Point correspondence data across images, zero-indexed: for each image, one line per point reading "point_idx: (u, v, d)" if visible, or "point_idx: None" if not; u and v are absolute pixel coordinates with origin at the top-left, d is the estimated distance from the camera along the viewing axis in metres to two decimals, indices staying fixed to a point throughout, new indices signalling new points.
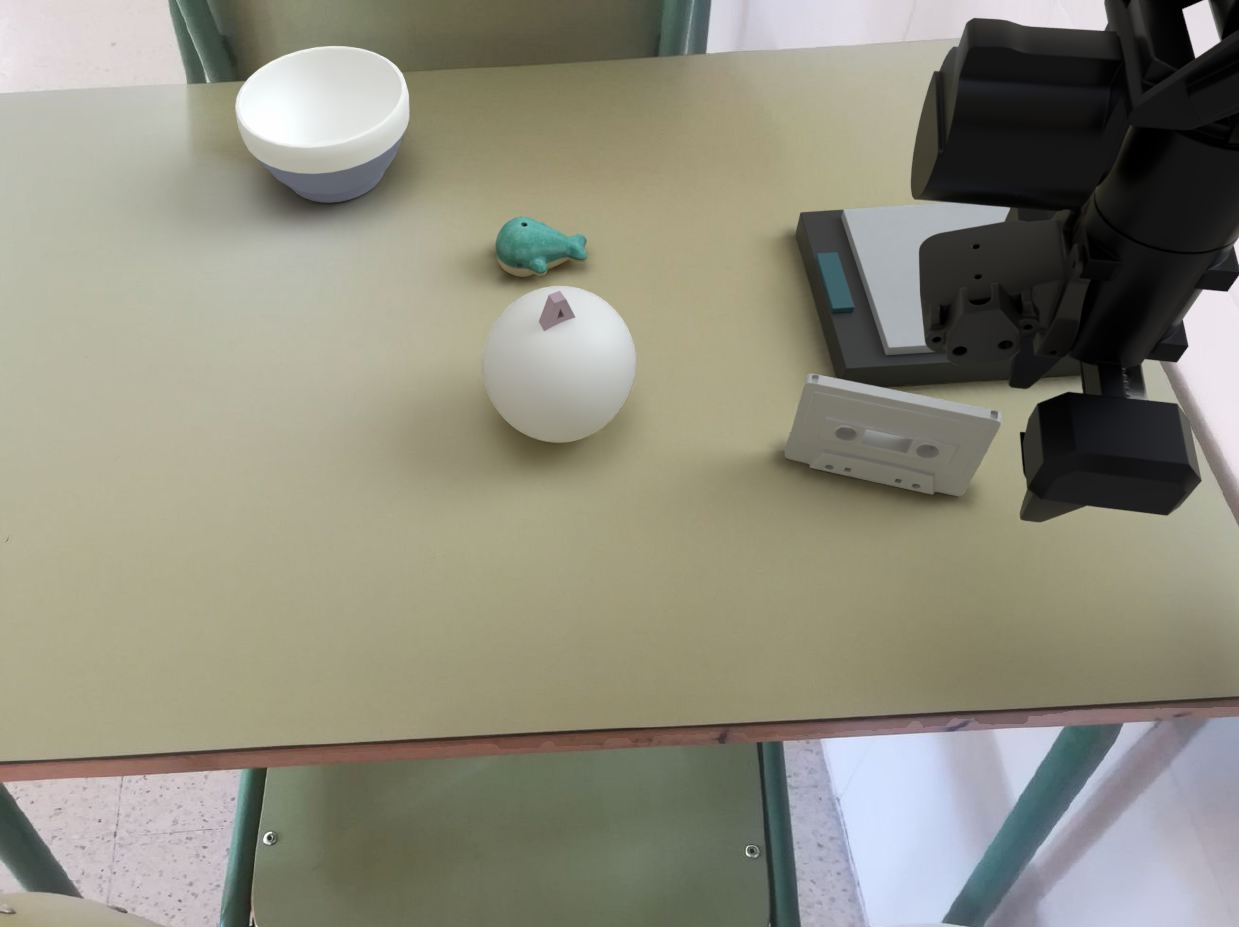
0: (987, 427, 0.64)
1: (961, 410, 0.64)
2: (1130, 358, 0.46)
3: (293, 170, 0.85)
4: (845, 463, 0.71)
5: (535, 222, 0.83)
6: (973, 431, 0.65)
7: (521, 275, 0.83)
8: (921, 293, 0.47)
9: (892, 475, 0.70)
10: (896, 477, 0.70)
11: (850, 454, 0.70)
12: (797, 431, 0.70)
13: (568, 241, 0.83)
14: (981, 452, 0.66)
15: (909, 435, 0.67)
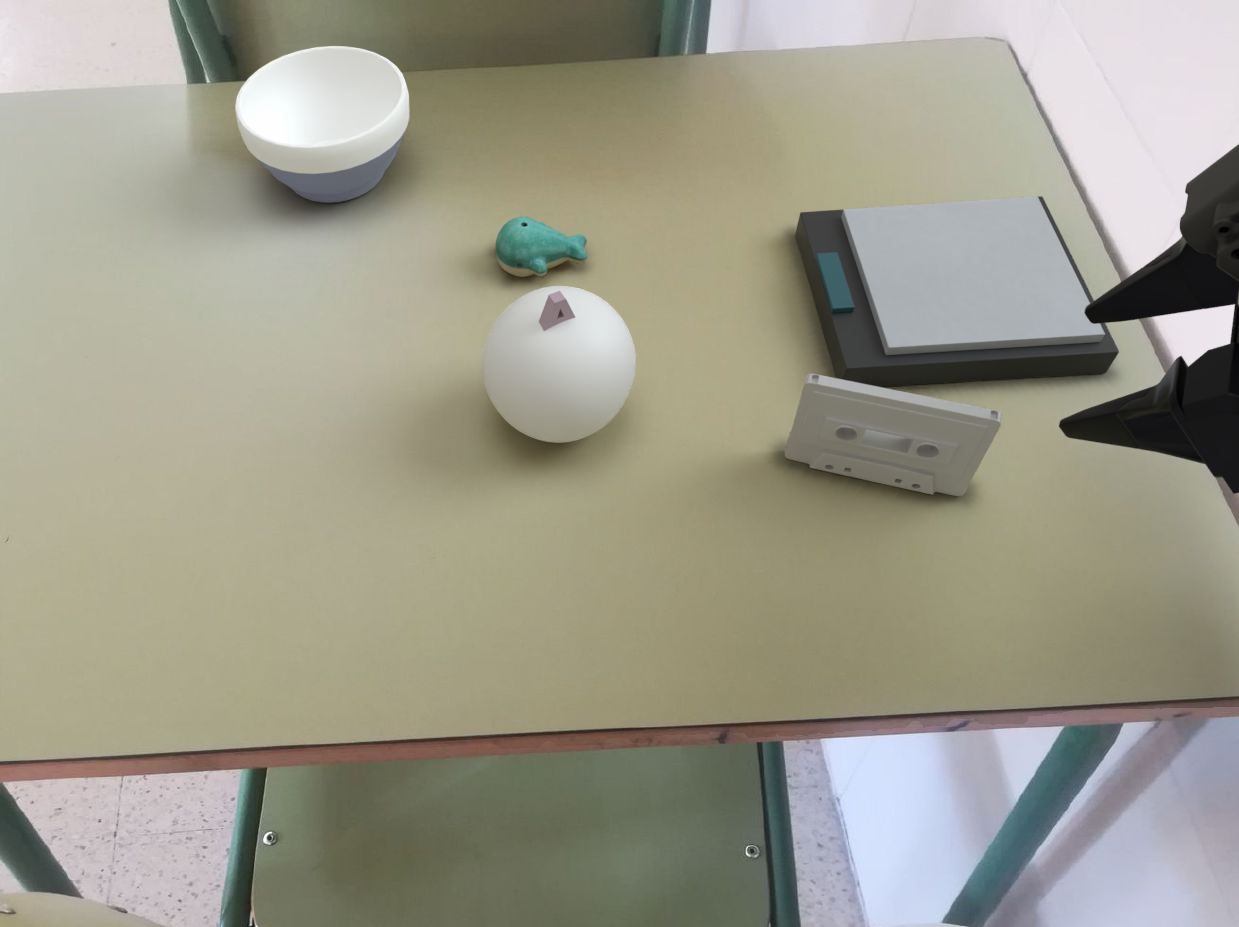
0: (987, 427, 0.64)
1: (961, 410, 0.64)
2: None
3: (293, 170, 0.85)
4: (845, 463, 0.71)
5: (535, 222, 0.83)
6: (973, 432, 0.65)
7: (521, 275, 0.83)
8: None
9: (892, 475, 0.70)
10: (896, 477, 0.70)
11: (850, 454, 0.70)
12: (797, 431, 0.70)
13: (568, 242, 0.83)
14: (981, 452, 0.66)
15: (909, 435, 0.67)
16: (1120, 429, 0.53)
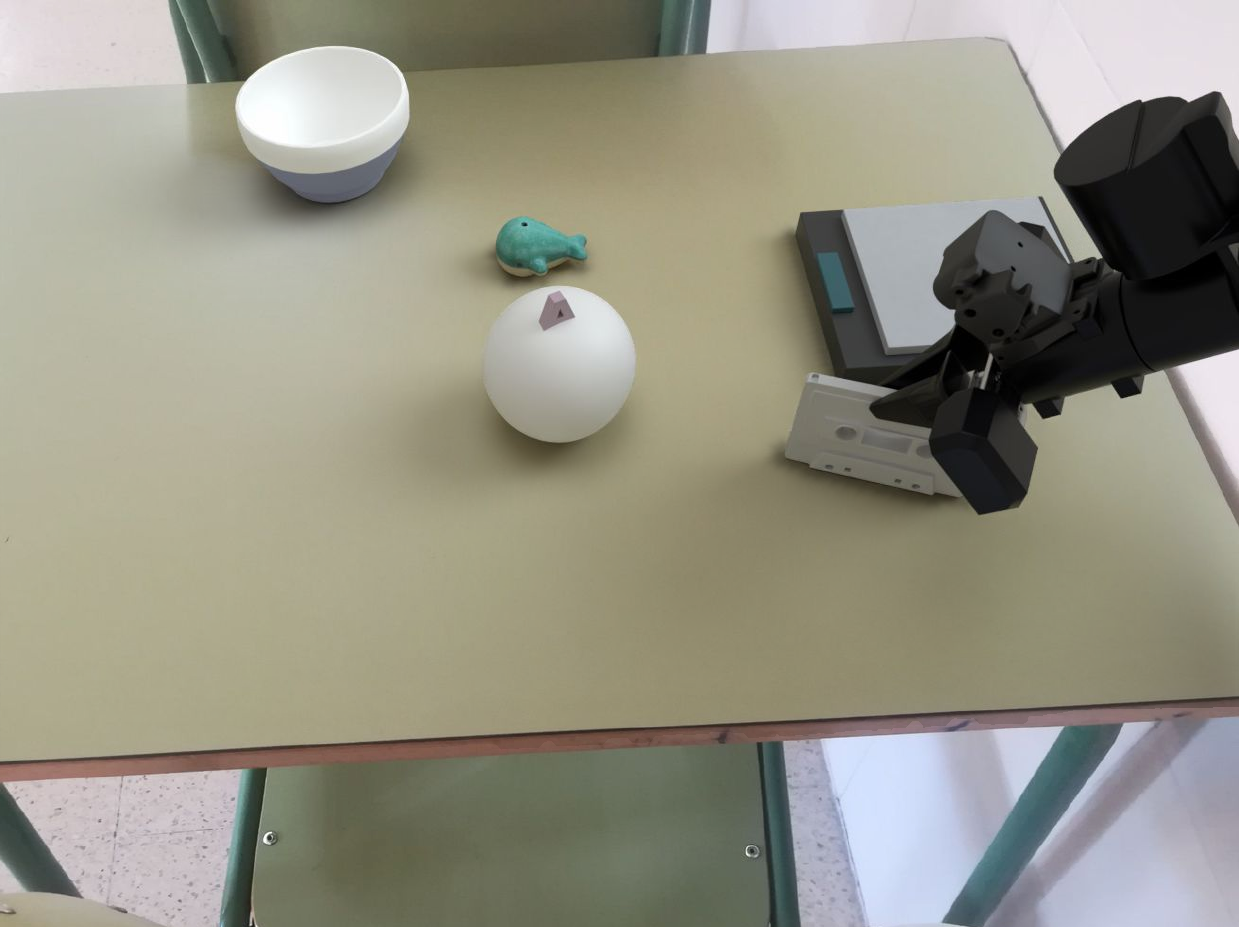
0: None
1: None
2: (1029, 397, 0.58)
3: (293, 170, 0.85)
4: (845, 463, 0.71)
5: (535, 222, 0.83)
6: None
7: (521, 274, 0.83)
8: (975, 250, 0.54)
9: (892, 475, 0.70)
10: (896, 477, 0.70)
11: (850, 454, 0.70)
12: (797, 430, 0.70)
13: (568, 241, 0.83)
14: None
15: (909, 435, 0.67)
16: (913, 411, 0.63)
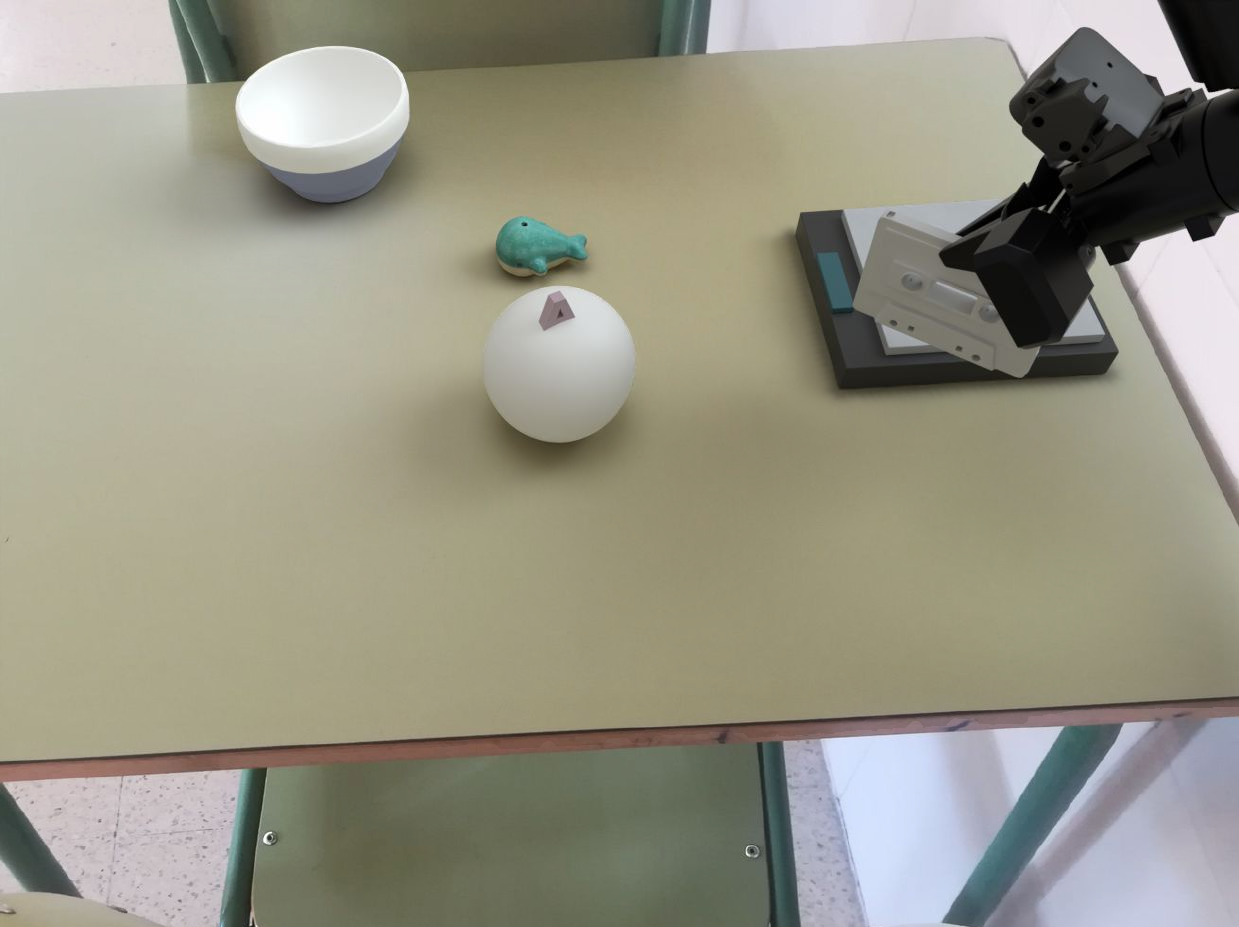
0: None
1: None
2: (1096, 236, 0.55)
3: (293, 170, 0.85)
4: (909, 320, 0.69)
5: (535, 222, 0.83)
6: None
7: (522, 274, 0.83)
8: (1056, 58, 0.52)
9: (953, 340, 0.68)
10: (957, 343, 0.68)
11: (915, 310, 0.69)
12: (867, 276, 0.69)
13: (568, 241, 0.83)
14: None
15: (974, 292, 0.65)
16: None
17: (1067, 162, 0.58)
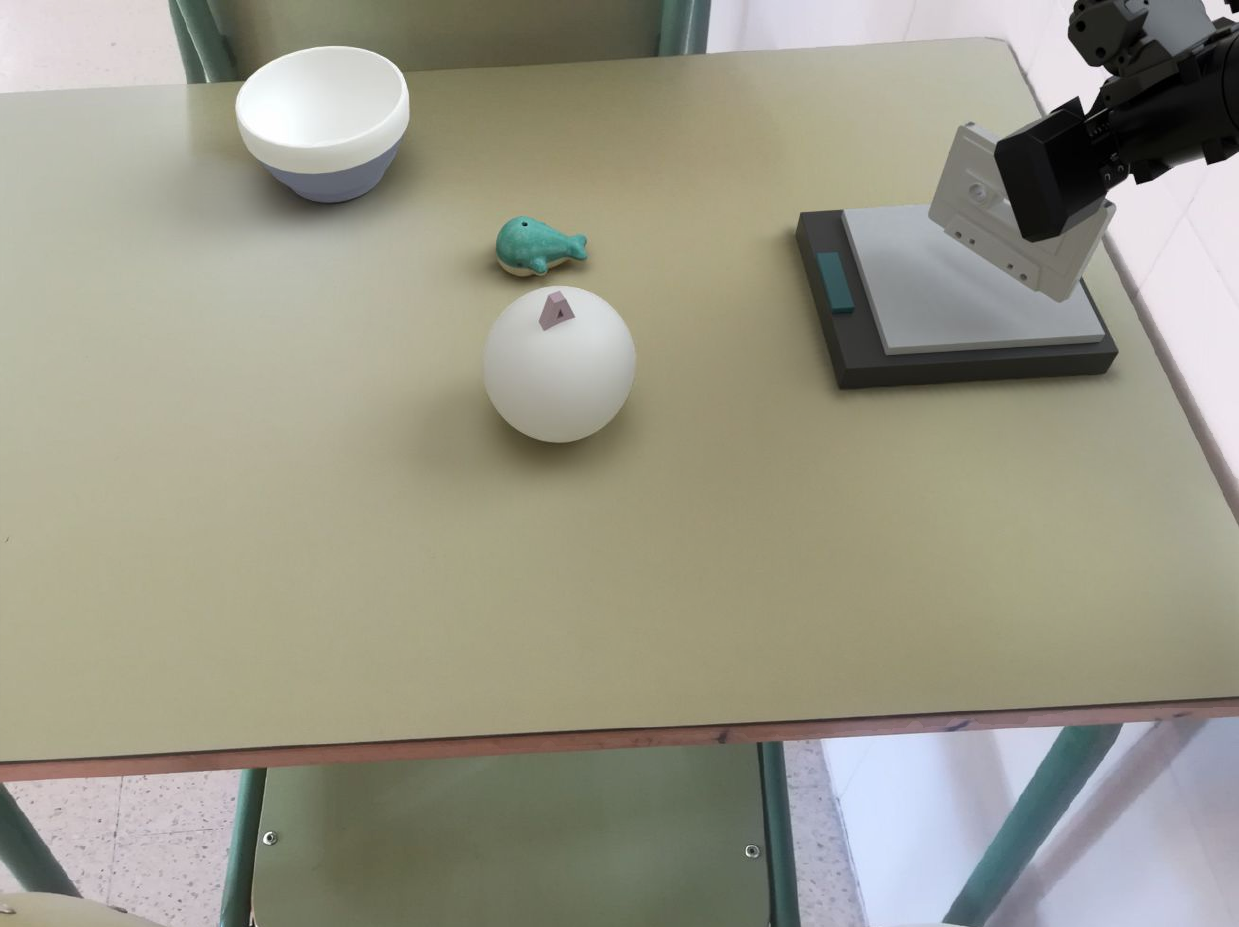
0: (1095, 215, 0.66)
1: None
2: (1126, 151, 0.60)
3: (293, 170, 0.85)
4: (971, 232, 0.74)
5: (535, 222, 0.83)
6: None
7: (522, 274, 0.83)
8: None
9: (1006, 257, 0.73)
10: (1009, 261, 0.73)
11: (978, 224, 0.73)
12: (942, 185, 0.74)
13: (568, 241, 0.83)
14: (1086, 248, 0.68)
15: None
16: None
17: None
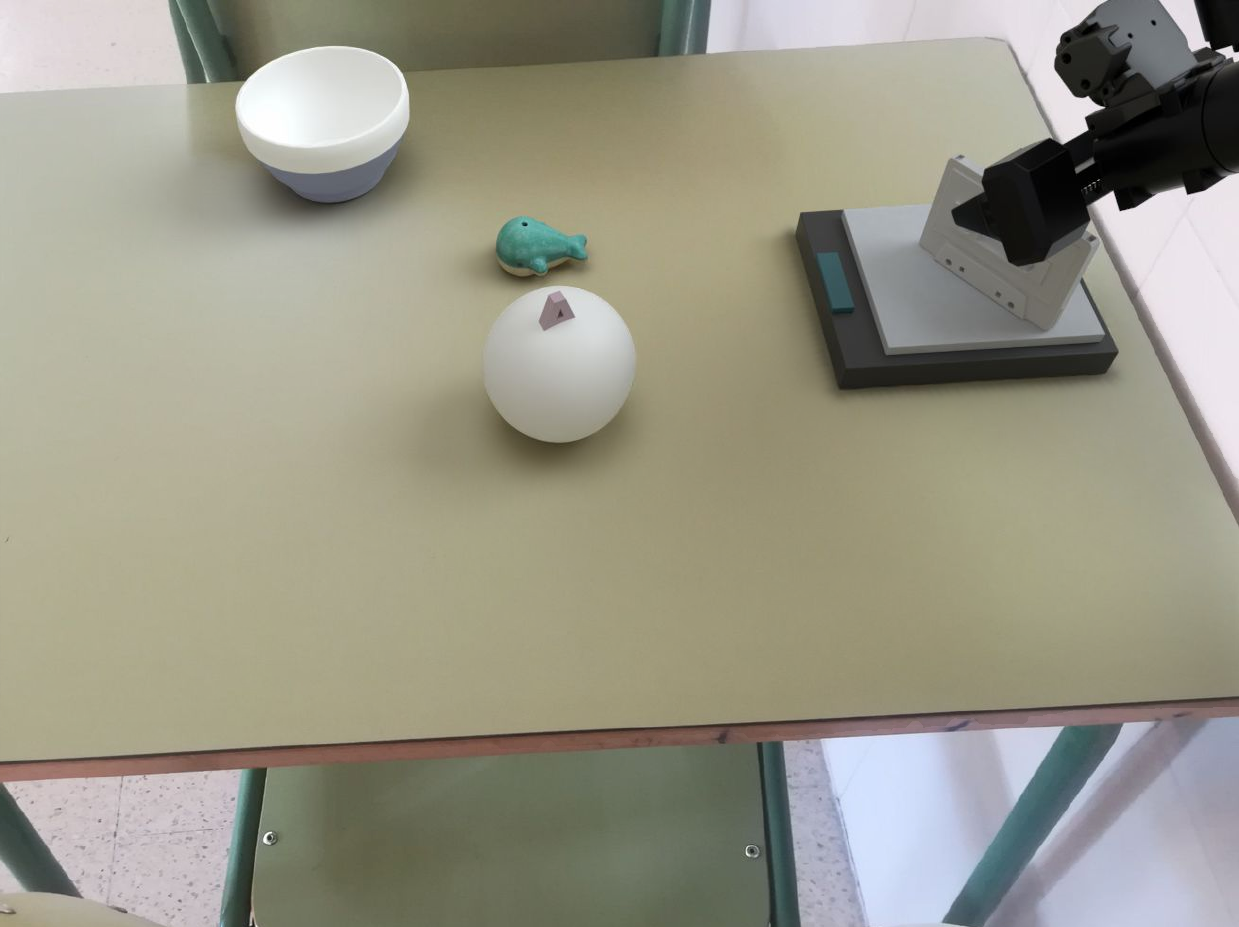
0: (1079, 249, 0.68)
1: None
2: (1109, 179, 0.62)
3: (293, 170, 0.85)
4: (961, 261, 0.76)
5: (535, 222, 0.83)
6: (1067, 251, 0.69)
7: (522, 274, 0.83)
8: (1099, 5, 0.58)
9: (994, 286, 0.75)
10: (997, 289, 0.75)
11: (968, 253, 0.76)
12: (933, 214, 0.77)
13: (568, 241, 0.83)
14: (1070, 279, 0.70)
15: None
16: (979, 214, 0.67)
17: None
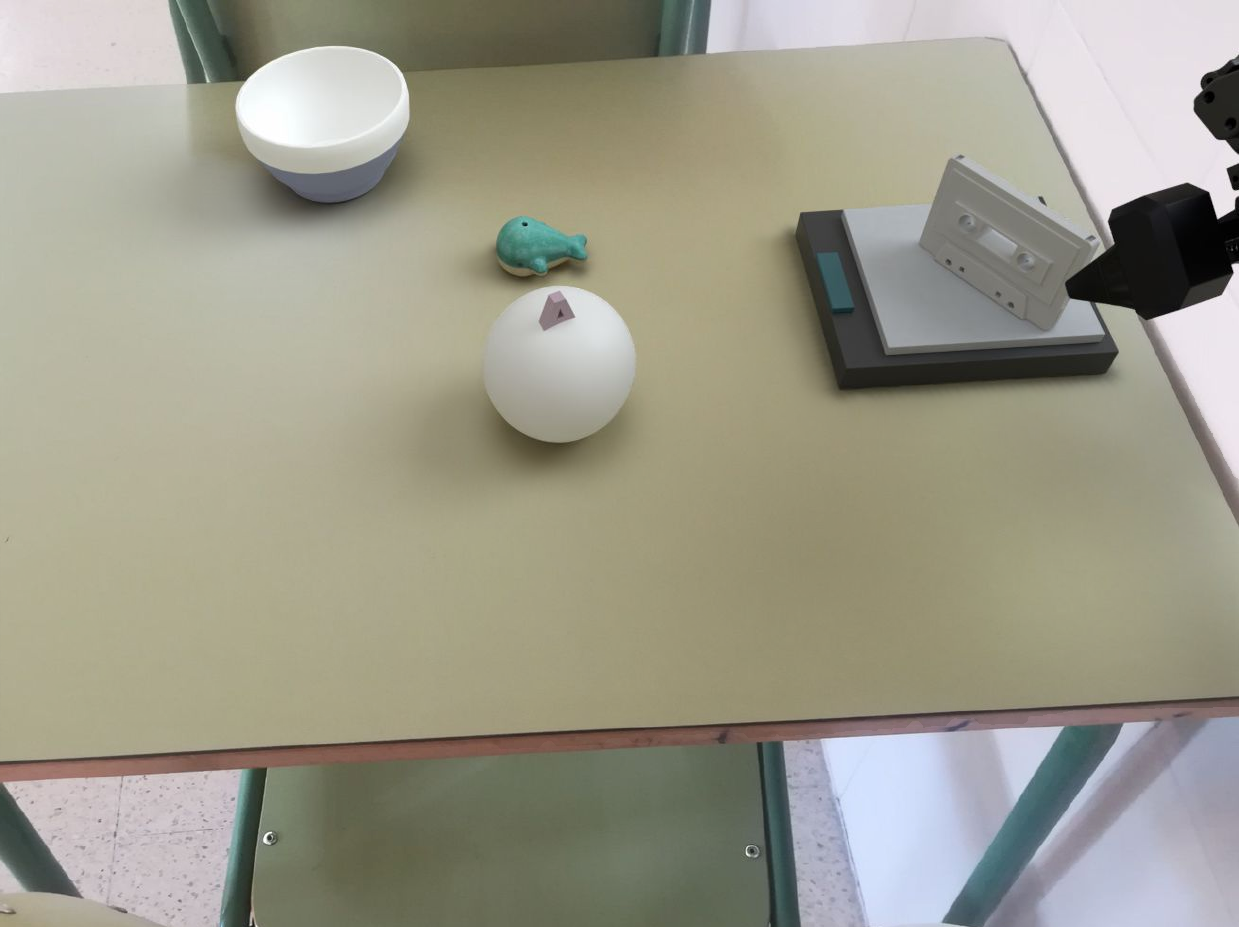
0: (1079, 249, 0.68)
1: (1064, 224, 0.68)
2: None
3: (293, 170, 0.85)
4: (961, 261, 0.76)
5: (536, 222, 0.83)
6: (1067, 251, 0.69)
7: (522, 274, 0.84)
8: None
9: (994, 286, 0.75)
10: (997, 289, 0.75)
11: (968, 253, 0.76)
12: (933, 214, 0.77)
13: (568, 241, 0.83)
14: None
15: (1015, 240, 0.72)
16: (1099, 279, 0.61)
17: None
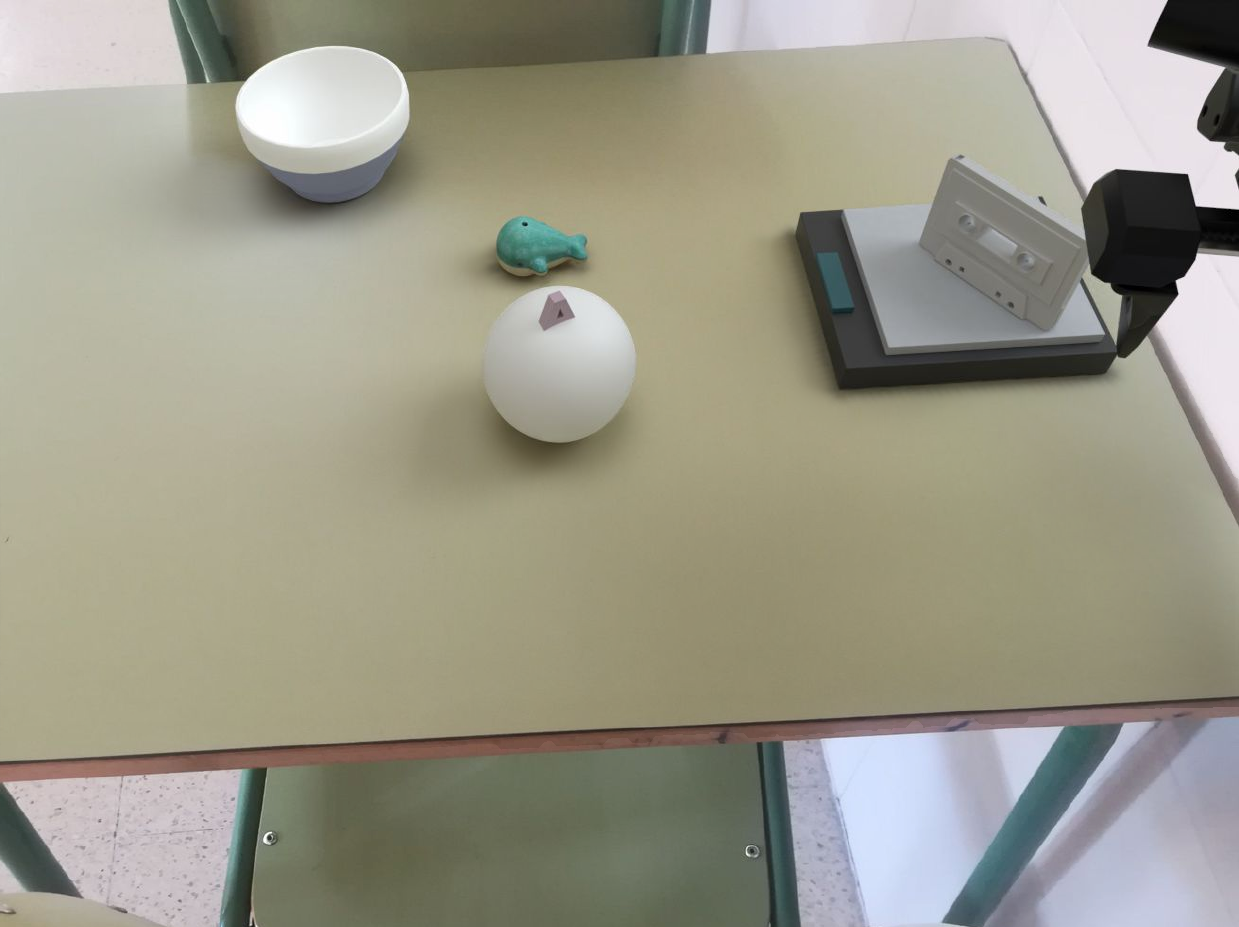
0: (1079, 249, 0.68)
1: (1064, 224, 0.68)
2: None
3: (293, 170, 0.85)
4: (961, 261, 0.76)
5: (536, 222, 0.83)
6: (1067, 251, 0.69)
7: (522, 274, 0.84)
8: None
9: (994, 286, 0.75)
10: (997, 289, 0.75)
11: (968, 253, 0.76)
12: (933, 214, 0.77)
13: (568, 241, 0.83)
14: (1070, 279, 0.70)
15: (1015, 240, 0.72)
16: (1124, 312, 0.57)
17: None
